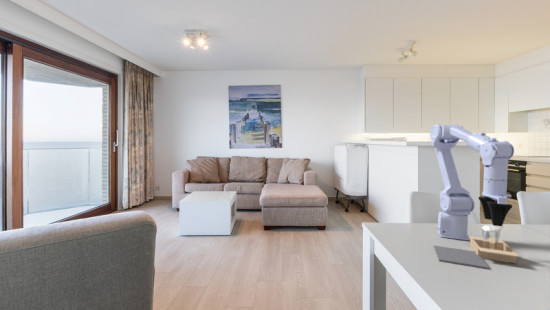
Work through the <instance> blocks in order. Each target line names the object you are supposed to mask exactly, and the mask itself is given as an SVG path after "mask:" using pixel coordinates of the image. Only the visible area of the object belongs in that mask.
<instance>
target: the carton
mask: <svg viewBox="0 0 550 310" xmlns="http://www.w3.org/2000/svg"><path fill="white" fill-rule="evenodd" d="M468 237H469V238H470V239H471V241H470V243H469V248H471V249H470V250H471V251H475V252H476V254H477V255H478V256H481V257H482V259H485V260H486V259H487V260H494V261H500V262H505V263H506V262H507V263H514V264H517V258H521V256H520V255H519V254H518V253H517V252H516V251H515V250H514V249H513V248H511V247H510V246H509V245H508V244H507V243H506V242H505V241H503V240H502V239H499V241H498V248H497V250H495V249H488V248H483V237H480V236H479V237H478V236H472V235H471V236H470V235H468Z"/></svg>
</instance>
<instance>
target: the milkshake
mask: <svg viewBox="0 0 550 310" xmlns="http://www.w3.org/2000/svg"><path fill="white" fill-rule="evenodd" d="M503 227H504V225H502V226H501V228H499V227H498V226H494V225H489V224H486V225H483V226H482V227H481V231H482V238H483V248H488V249H495V250H497V248H498V241H499V240H500V235H501V230H502V229H503Z"/></svg>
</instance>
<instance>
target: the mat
mask: <svg viewBox="0 0 550 310" xmlns="http://www.w3.org/2000/svg"><path fill="white" fill-rule="evenodd" d="M433 248H434V250H435V254H436V256H437V258H438V261H439V262H443V263H449V264H455V265H461V266H468V267H474V268H480V269H484V270H485V269H486V270H490V266H488V264H487V263H486V261H485V260H484V258H482V257H481V256H478V255H477V254H476V252H475V251H473V250H468V249H467V250H466V249H461V248H456V247H455V248H453V247H448V246H440V245H433Z"/></svg>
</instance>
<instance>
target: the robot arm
mask: <svg viewBox="0 0 550 310" xmlns="http://www.w3.org/2000/svg"><path fill="white" fill-rule="evenodd" d="M429 138H430V140H431V145H432V147H433V148H434V152H435V156H436V159H437V163H438V166H439V171H440V175H441V178H442V182H443V186H444V189H443V190H441V192H440V193H439V205H440V208H441V210H442V211H439V212H438V215H437V230H436V231H437V233H438V235H439V237H440V238H447V239H453V240H463V241H471V239H470V238H469V235H468V231H469V228H468V225H469V215H471V213H472V212H474V209H475V204H476V203H475V201H474V199H473V197H472V196H471V194H470V192H469V191H468V190H467V189H466V188H465V187H462V185H461V182H460V179H459V174H458V171H457V168H456V164H455V161H454V157H453V154H452V151H451V150H452V148H455V147H456V145H457V144H458V142H459V141H463V142H466V145H467V147H468V148H470V149H471V150H474V151H476V152H477V153H479V154H480V155H479V156H480V157H481V159H482V161H481V162H482V164H483V185H482V188H483V189H482V192H481V194H482V196H478V200H479V202H480V204H481V207H482V210H483V216H484V219H486V220H491V223H492V226H495V227H502V226H504V222H505V220H506V217H507V215H508V213H509V211H510V210H511V209H513V204H510V203H508V198H512V194H510V193H507V189H508V188H507V187H508V174H509V173H508V171H509V170H508V169H509V160H510V159H512V158H513V156H514V154H515V148H514V146H513V144H512V143H511V142H509V141H507V140H503V141H499V140H497V138H496V137H490V136H487V135H486V133H485V132H484V131H483V132H482V131H480V132H476V133H474V132H472V131H469V129H468V130H467V129H466V128H464V126H463V125H460V124H434V125H433V126H432V127H431V130H430V133H429Z"/></svg>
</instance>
